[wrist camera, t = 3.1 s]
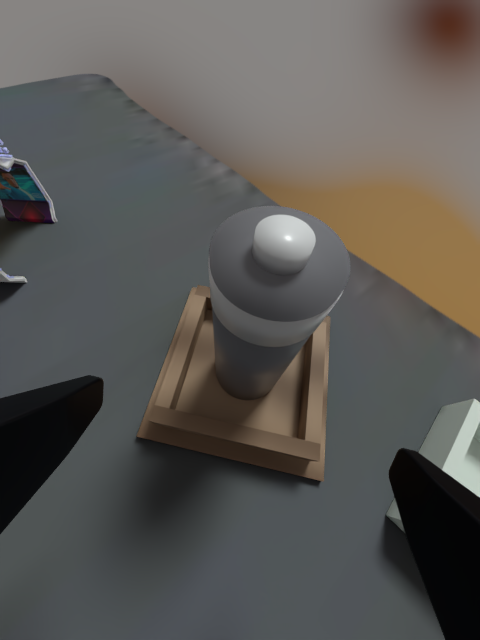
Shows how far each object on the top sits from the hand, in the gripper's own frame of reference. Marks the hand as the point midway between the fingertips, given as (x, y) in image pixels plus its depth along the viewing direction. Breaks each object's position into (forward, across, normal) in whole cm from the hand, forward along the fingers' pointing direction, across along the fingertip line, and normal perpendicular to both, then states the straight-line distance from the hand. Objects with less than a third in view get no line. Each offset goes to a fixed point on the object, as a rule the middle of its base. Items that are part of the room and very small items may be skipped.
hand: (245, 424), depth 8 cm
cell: (+12, 0, +4) cm, 13 cm away
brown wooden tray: (+12, 0, +5) cm, 13 cm away
